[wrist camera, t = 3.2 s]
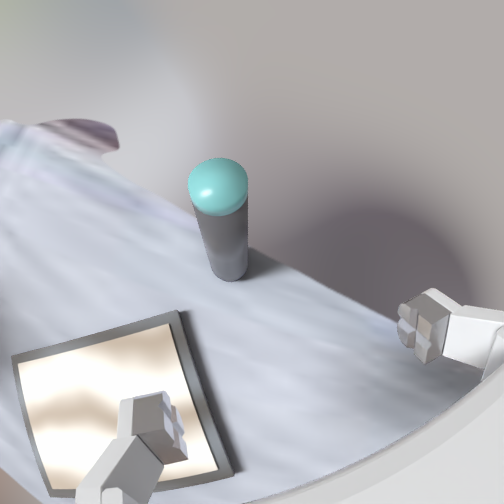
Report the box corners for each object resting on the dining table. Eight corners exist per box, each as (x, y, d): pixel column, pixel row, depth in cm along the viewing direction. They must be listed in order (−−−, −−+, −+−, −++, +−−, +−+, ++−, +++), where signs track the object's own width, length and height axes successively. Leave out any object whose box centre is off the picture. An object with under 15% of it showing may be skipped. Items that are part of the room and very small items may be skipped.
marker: (252, 278, 28) (256, 196, 16) (218, 289, 28) (195, 214, 16) (241, 247, 29) (237, 151, 17) (208, 257, 29) (182, 167, 17)
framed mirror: (234, 472, 21) (234, 476, 20) (55, 494, 19) (49, 497, 18) (179, 312, 27) (176, 309, 26) (16, 357, 24) (10, 355, 23)
